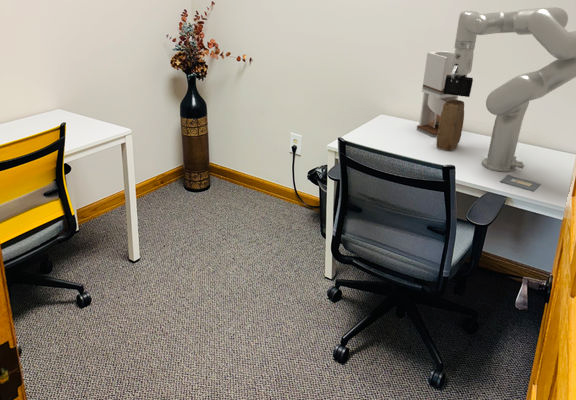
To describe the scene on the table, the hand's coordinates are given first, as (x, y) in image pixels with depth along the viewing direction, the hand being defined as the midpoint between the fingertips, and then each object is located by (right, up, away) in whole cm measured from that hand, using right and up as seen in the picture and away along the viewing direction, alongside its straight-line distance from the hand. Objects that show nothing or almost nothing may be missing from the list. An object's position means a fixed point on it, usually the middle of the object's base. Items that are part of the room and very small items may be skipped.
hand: (457, 89), depth 220 cm
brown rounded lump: (-1, -22, +11) cm, 25 cm away
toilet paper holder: (-2, -14, +28) cm, 31 cm away
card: (+16, -38, -21) cm, 47 cm away
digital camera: (0, -2, +1) cm, 2 cm away
